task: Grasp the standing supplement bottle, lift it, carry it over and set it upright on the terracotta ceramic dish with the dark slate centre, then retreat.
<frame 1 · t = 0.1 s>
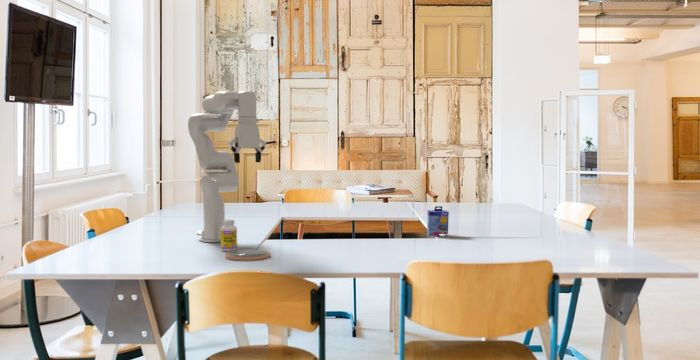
hand: (247, 162, 269), 37 cm above the table, tool pointing down, fingers open, 9 cm apart
ink cartridge box: (437, 236, 313), on the table
dish: (248, 256, 257), on the table
supplement bottle: (229, 250, 271), on the table
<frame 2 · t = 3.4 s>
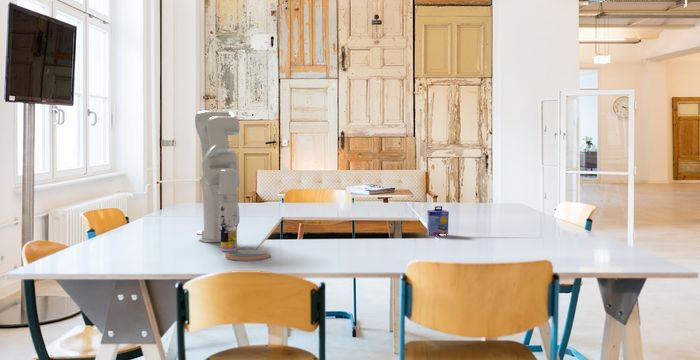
hand: (228, 240, 271), 4 cm above the table, tool pointing down, fingers closed on supplement bottle, 6 cm apart
supplement bottle: (229, 250, 271), on the table, touching gripper
everything else where it was.
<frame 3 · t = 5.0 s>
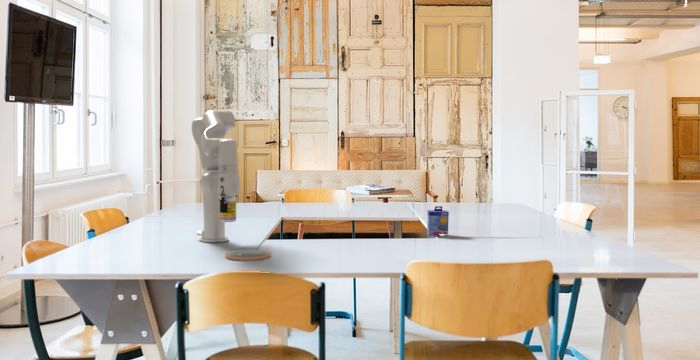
hand: (228, 211, 271), 17 cm above the table, tool pointing down, fingers closed on supplement bottle, 6 cm apart
supplement bottle: (228, 221, 271), point 12 cm above the table, touching gripper
everything else where it was.
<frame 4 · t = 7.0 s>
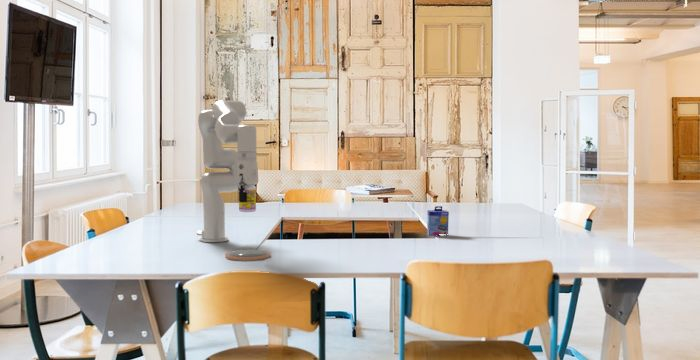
hand: (247, 200, 256), 22 cm above the table, tool pointing down, fingers closed on supplement bottle, 6 cm apart
supplement bottle: (247, 211, 256), point 18 cm above the table, touching gripper
everything else where it was.
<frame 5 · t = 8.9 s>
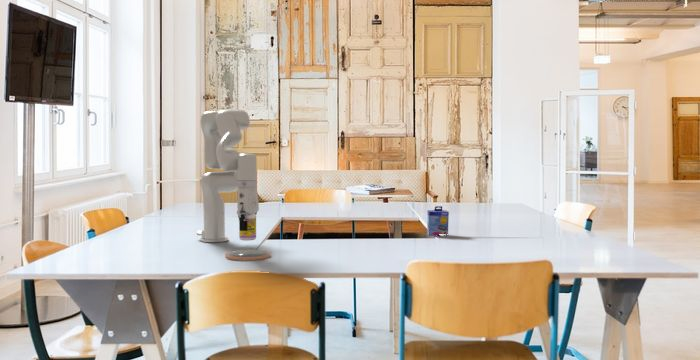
hand: (247, 229, 257), 11 cm above the table, tool pointing down, fingers closed on supplement bottle, 6 cm apart
supplement bottle: (247, 240, 257), point 7 cm above the table, touching gripper
everything else where it was.
when the fingers open (7 cm above the table, at t = 10.7 s): supplement bottle drops 1 cm, resting on dish.
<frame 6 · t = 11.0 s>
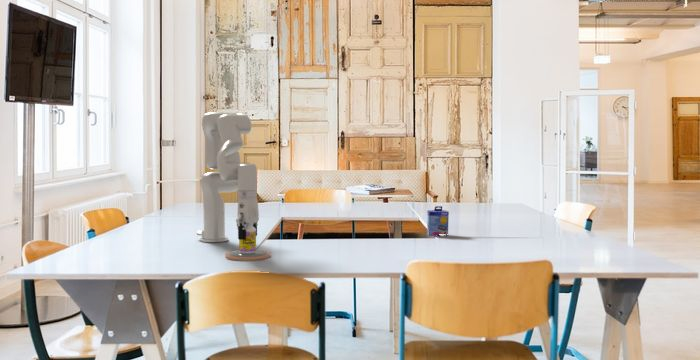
hand: (247, 237, 257), 8 cm above the table, tool pointing down, fingers open, 9 cm apart
supplement bottle: (247, 253, 258), point 1 cm above the table, touching dish
everything else where it was.
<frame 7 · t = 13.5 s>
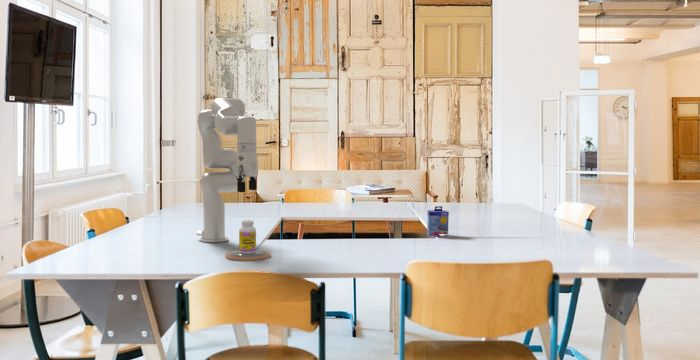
hand: (247, 191, 256), 26 cm above the table, tool pointing down, fingers open, 9 cm apart
nothing on the table moved.
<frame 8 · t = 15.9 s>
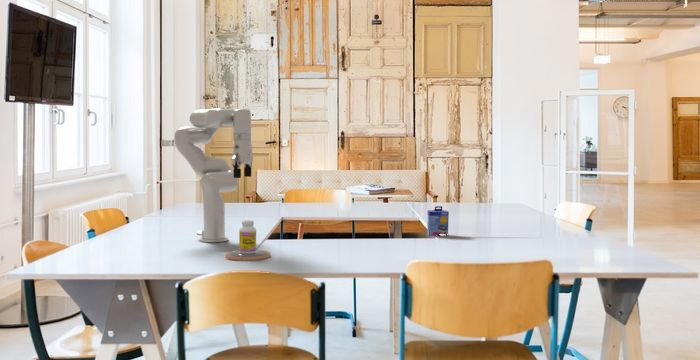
hand: (242, 177, 279), 30 cm above the table, tool pointing down, fingers open, 9 cm apart
nothing on the table moved.
at the end: supplement bottle inside the target area on the dish (0.2 cm from its centre), point 1.2 cm above the dish's base; supplement bottle tilted 1°; the gripper is holding nothing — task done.
